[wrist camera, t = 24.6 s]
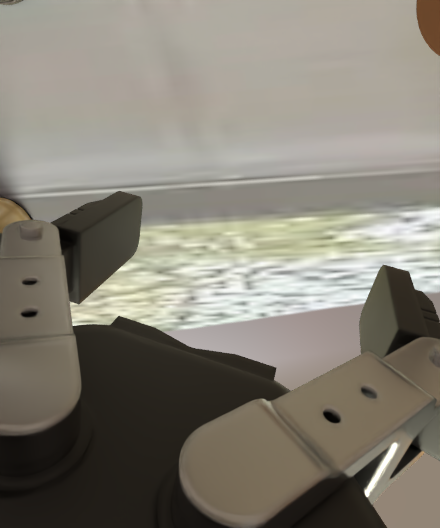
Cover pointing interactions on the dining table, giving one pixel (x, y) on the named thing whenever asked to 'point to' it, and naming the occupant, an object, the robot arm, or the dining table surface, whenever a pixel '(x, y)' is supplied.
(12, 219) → the hand bell
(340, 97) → the dining table surface
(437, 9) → the brown round coaster
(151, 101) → the dining table surface
